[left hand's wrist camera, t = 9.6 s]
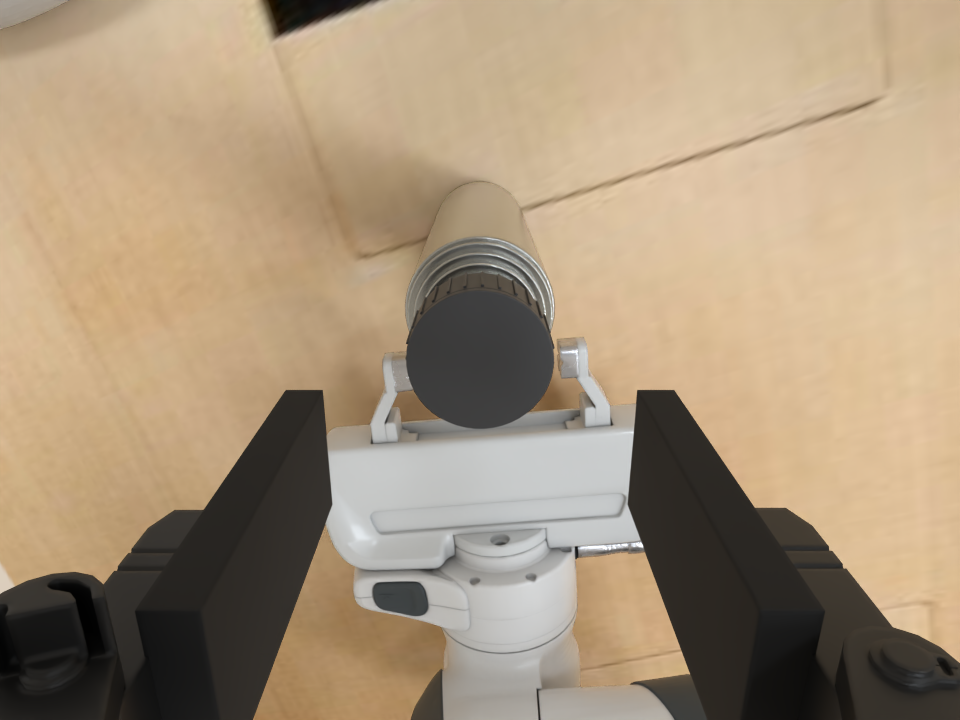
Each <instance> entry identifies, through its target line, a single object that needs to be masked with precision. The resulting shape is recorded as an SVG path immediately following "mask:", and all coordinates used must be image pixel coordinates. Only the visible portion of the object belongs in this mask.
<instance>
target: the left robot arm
mask: <svg viewBox="0 0 960 720" xmlns="http://www.w3.org/2000/svg"><path fill="white" fill-rule="evenodd" d="M332 505H333V504H332V492H331V481H330V469H329V458H328V446H327V435H326V423H325V412H324V400H323V390H286V391H285V392H284V394H283V395H282V397H281V398H280V399H279V401H278V402H277V404H276V405H275V407H274V408H273V410H272V411H271V413H270V414H269V416H268V417H267V418H266V420H265V421H264V423H263V424H262V426H261V427H260V429H259V430H258V432H257V433H256V434H255V436H254V437H253V439H252V440H251V442H250V443H249V445H248V446H247V448H246V449H245V451H244V452H243V453H242V455H241V456H240V458H239V459H238V461H237V462H236V464H235V465H234V467H233V468H232V470H231V471H230V472H229V474H228V475H227V477H226V478H225V480H224V481H223V483H222V484H221V486H220V487H219V488H218V490H217V491H216V493H215V494H214V496H213V497H212V499H211V500H210V502H209V503H208V505H207V506H206V507H205V509H204V510H174V511H173V512H171V513H170V514H168V515H167V516H165V517H164V518H162V519H161V520H159V521H158V522H156V523H155V524H153V525H152V526H150V527H149V528H148V529H147V530H146V531H145V533H144V534H143V535H142V536H141V538H140V539H139V540H138V542H137V543H136V544H135V545H134V547H133V548H132V552H131V553H128V554H127V556H126V557H125V558H124V559H123V561H122V562H121V563H120V564H119V566H118V570H117V571H114V572H113V573H112V575H111V576H110V577H109V578H108V580H107V581H106V582H105V583H104V585H103V584H102V583H101V582H100V581H99V580H97V579H96V578H95V577H94V576H93V575H88V574H82V573H77V572H69V573H57V574H50V575H46V576H43V577H39V578H36V579H32V580H28V581H26V582H24V583H22V584H19V585H17V586H15V587H13V588H11V589H9V590H7V591H5V592H3V593H1V594H0V720H253V718H254V715H255V712H256V710H257V707H258V704H259V702H260V699H261V696H262V693H263V691H264V688H265V685H266V683H267V680H268V677H269V675H270V672H271V669H272V667H273V664H274V661H275V658H276V656H277V653H278V650H279V648H280V645H281V642H282V640H283V637H284V634H285V631H286V629H287V626H288V623H289V621H290V618H291V615H292V613H293V610H294V607H295V604H296V602H297V599H298V596H299V594H300V591H301V588H302V586H303V583H304V580H305V577H306V575H307V572H308V569H309V567H310V564H311V561H312V559H313V556H314V553H315V551H316V548H317V545H318V542H319V540H320V537H321V534H322V532H323V529H324V526H325V524H326V521H327V518H328V515H329V513H330V510H331V507H332ZM627 505H628V507H629V510H630V513H631V515H632V518H633V521H634V524H635V526H636V529H637V532H638V534H639V537H640V540H641V542H642V545H643V548H644V551H645V553H646V556H647V559H648V561H649V564H650V567H651V569H652V572H653V575H654V578H655V580H656V583H657V586H658V588H659V591H660V594H661V596H662V599H663V602H664V604H665V607H666V610H667V613H668V615H669V618H670V621H671V623H672V626H673V629H674V631H675V634H676V637H677V640H678V642H679V645H680V648H681V650H682V653H683V656H684V658H685V661H686V664H687V667H688V669H689V672H690V675H691V677H692V680H693V683H694V685H695V688H696V691H697V693H698V696H699V699H700V702H701V704H702V707H703V710H704V712H705V715H706V718H707V720H960V663H959V662H958V661H956V660H955V659H954V658H953V657H952V656H950V655H949V654H948V653H947V652H945V651H944V650H943V649H942V648H941V647H939V646H937V645H935V644H933V643H931V642H929V641H928V640H926V639H924V638H922V637H920V636H918V635H915V634H912V633H909V632H906V631H903V630H900V629H896V628H893V627H892V626H891V624H890V623H889V622H888V621H887V619H886V618H885V617H884V616H883V614H882V613H881V612H880V611H879V609H878V608H877V607H876V606H875V604H874V603H873V602H872V600H871V599H870V598H869V597H868V595H867V594H866V593H865V592H864V590H863V589H862V588H861V587H860V585H859V584H858V583H857V582H856V580H855V579H854V578H853V577H852V575H851V574H850V573H849V571H848V570H847V569H843V564H842V563H841V561H840V560H839V559H838V558H837V556H836V555H835V554H834V553H833V551H829V546H828V545H827V544H826V542H825V541H824V540H823V539H822V537H821V536H820V535H819V534H818V532H817V531H816V530H815V529H814V527H813V526H812V525H810V524H809V523H807V522H806V521H804V520H803V519H801V518H800V517H798V516H797V515H795V514H794V513H792V512H791V511H789V510H788V509H787V508H755V507H754V506H753V505H752V503H751V502H750V500H749V499H748V497H747V496H746V494H745V493H744V491H743V490H742V488H741V487H740V486H739V484H738V483H737V481H736V480H735V478H734V477H733V475H732V474H731V472H730V471H729V470H728V468H727V467H726V465H725V464H724V462H723V461H722V459H721V458H720V456H719V455H718V453H717V452H716V451H715V449H714V448H713V446H712V445H711V443H710V442H709V440H708V439H707V437H706V436H705V434H704V433H703V432H702V430H701V429H700V427H699V426H698V424H697V423H696V421H695V420H694V418H693V417H692V416H691V414H690V413H689V411H688V410H687V408H686V407H685V405H684V404H683V402H682V401H681V399H680V398H679V397H678V395H677V394H676V392H675V391H674V390H637V400H636V412H635V423H634V435H633V446H632V458H631V469H630V481H629V492H628V504H627Z"/></svg>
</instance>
